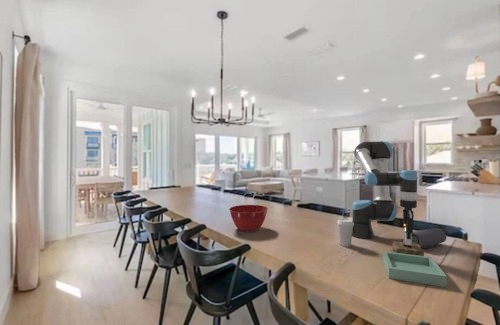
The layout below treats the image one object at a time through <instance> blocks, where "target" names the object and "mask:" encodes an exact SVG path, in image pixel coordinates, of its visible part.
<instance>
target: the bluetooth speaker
mask: <svg viewBox="0 0 500 325" xmlns="http://www.w3.org/2000/svg"><path fill="white" fill-rule="evenodd" d="M446 241H447V234H446V232H445V230H443V229H440V228H426V229H422V230H421V229H419V230H415V231H413V233H412V242H411V243H415V244H419V246H420V247H421V248H422V249H426V248H432V247H434V246H435V245H438V244H442V243H444V242H446Z"/></svg>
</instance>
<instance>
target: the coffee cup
mask: <svg viewBox="0 0 500 325" xmlns="http://www.w3.org/2000/svg"><path fill="white" fill-rule="evenodd" d="M353 225H354V223H353V221H352V219H350V218H339V219H338V220H337V230H338V241H339V245H340V246H342V247H347V248H349V247H352V240H353V238H352V237H353V236H352V230H353Z"/></svg>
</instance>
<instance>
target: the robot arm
mask: <svg viewBox="0 0 500 325" xmlns="http://www.w3.org/2000/svg"><path fill="white" fill-rule="evenodd" d="M353 154H354V157H355V159H356V160H357V161H358V162H359V163H360V166H361V167H362V169H363V171H364V173H365V174H364V183H365V185H367V186H373V187H374V192H375V193H374V194H375V198H374V199H373V200H370V199H369V200H368V199H359V200H354V202H353V203H352V208H351V209H352V212H351V214H352V215H351V216H352V219H351V220H352V221H353V223H354V225H353V230H352V237H354V238H357V239H358V238H359V239H373V238H374V237H375V232H374V230H373V226H372V221H385V222H389V221H394V220H395V219H396V218H397V213H398V207H397V204H396V203H394V201H393V199H392V198H391V197H390V195H391V194H390V187H400V188H399V198H400V199H399V206H400V207H402V208H404V209H403V210H402V212H403V213H402V217H403V218H402V228H403V229H404V228H405V227H404V226H403V224H406V231H404V230H403V233H404V232H405V245H411V242H412V233H413V232H414V218H415V214H414V210H413V209H415V208H417V207H418V206H417V205H418V202H417V198H418V196H419V193H418V172H417V170H413V169H412V170H411V169H402V170H401V171H399V172H398V171H396V172H389V169H388V167H389V166H388V162H389V161H390V159H391V158H392V157H393V154H394V152H393V146H392V144H391V143H390V142H388V141H363V142H361V143H359V144H358V145H356V146H355V149H354V151H353ZM372 201H373V202H372Z"/></svg>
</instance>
